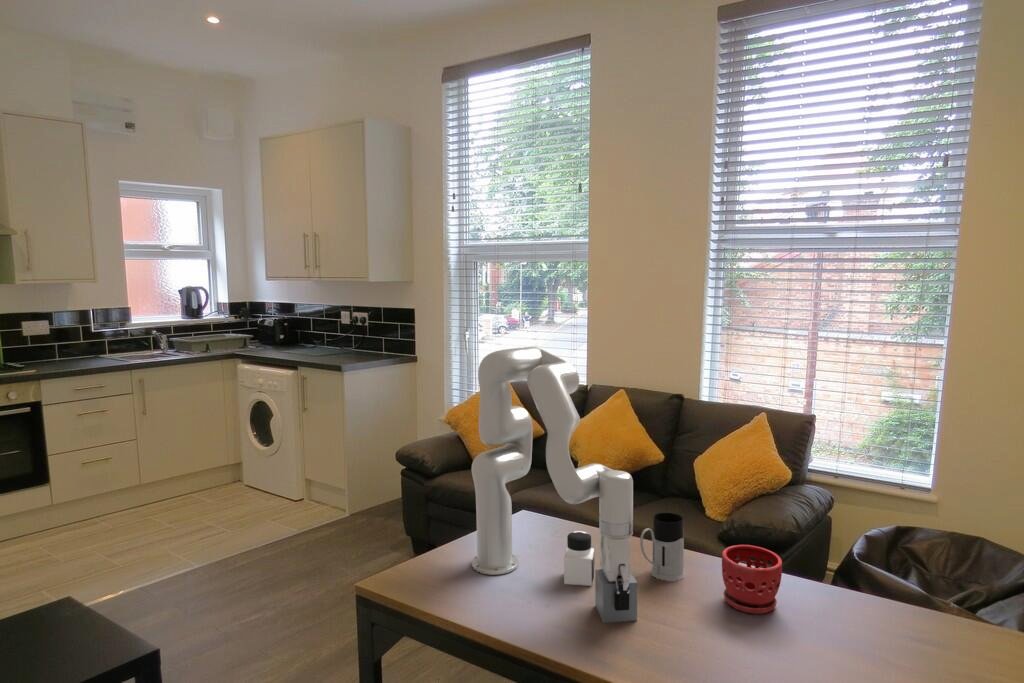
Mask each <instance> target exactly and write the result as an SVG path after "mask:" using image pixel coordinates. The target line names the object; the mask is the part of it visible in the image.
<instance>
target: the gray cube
mask: <svg viewBox="0 0 1024 683" xmlns="http://www.w3.org/2000/svg"><path fill="white" fill-rule="evenodd" d="M594 578H595V580H594V581H595V584H594V586H595V607H596V610H597V612H598V615H599V617H600V619H601V621H602V623H603V624H607V623H608V624H609V623H620V622H621V623H623V621H624V622H637V621H638V581H637V580H636V578H635V577H634V576H633V574H632V572H631V573H630V580H629V610H620V611H616V610H615V597H614V592H616V588H615V582H614V581H612V582H610V581H608V579H607V578H606V576H605V574H604V572H603V570H602V568H600V569H594ZM617 578H621V577H617ZM618 585H619V587H620V585H622V582H618ZM636 620H637V621H636Z"/></svg>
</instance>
